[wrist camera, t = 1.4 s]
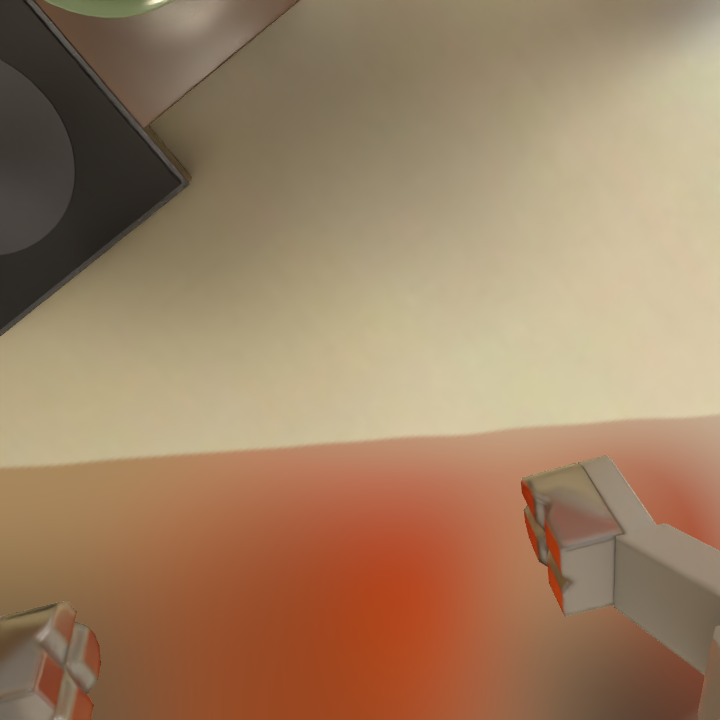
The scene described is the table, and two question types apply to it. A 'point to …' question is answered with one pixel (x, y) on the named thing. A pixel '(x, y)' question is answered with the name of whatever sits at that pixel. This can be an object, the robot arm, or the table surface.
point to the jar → (135, 10)
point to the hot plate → (65, 163)
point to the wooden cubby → (164, 50)
